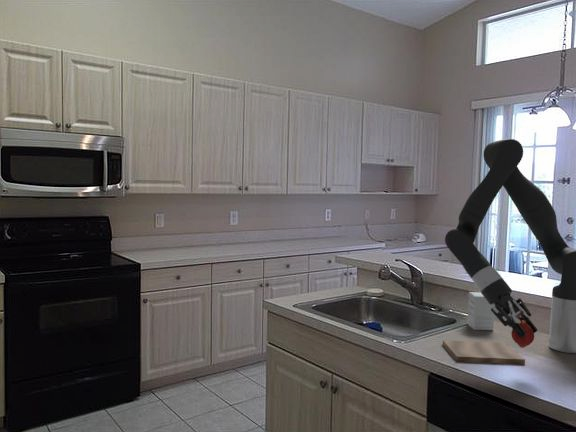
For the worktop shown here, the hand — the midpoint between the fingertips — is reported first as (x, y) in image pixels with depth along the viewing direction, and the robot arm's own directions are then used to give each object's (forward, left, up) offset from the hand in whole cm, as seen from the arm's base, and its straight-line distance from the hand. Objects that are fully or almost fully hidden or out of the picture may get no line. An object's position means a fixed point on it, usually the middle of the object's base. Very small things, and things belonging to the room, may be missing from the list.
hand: (529, 334), depth 134 cm
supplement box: (-3, -44, -12) cm, 46 cm away
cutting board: (+7, -15, -11) cm, 20 cm away
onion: (+1, -1, -5) cm, 5 cm away
